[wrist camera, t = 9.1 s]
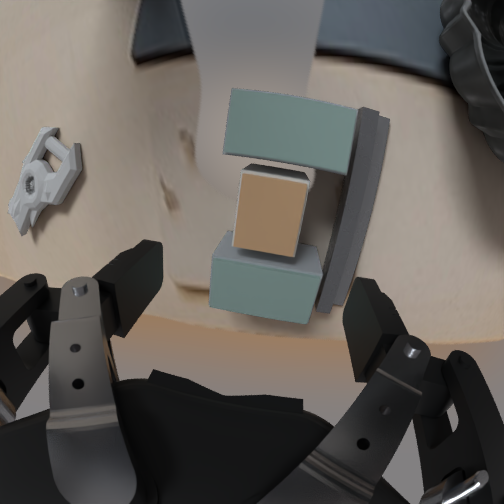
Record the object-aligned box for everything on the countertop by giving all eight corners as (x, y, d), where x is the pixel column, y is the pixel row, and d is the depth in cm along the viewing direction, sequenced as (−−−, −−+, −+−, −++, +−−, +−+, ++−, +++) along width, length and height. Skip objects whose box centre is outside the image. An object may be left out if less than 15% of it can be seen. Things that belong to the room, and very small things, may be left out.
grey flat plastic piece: (28, 257, 29) (-1, 210, 27) (43, 249, 32) (14, 204, 30) (78, 157, 23) (42, 108, 21) (96, 155, 27) (60, 109, 25)
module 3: (227, 230, 27) (210, 257, 21) (316, 246, 27) (323, 277, 21) (223, 274, 29) (207, 308, 23) (305, 288, 29) (308, 326, 23)
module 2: (251, 163, 24) (240, 170, 19) (304, 172, 24) (310, 182, 18) (243, 223, 27) (230, 248, 21) (293, 232, 27) (294, 259, 21)
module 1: (244, 99, 22) (230, 86, 16) (341, 116, 22) (359, 108, 16) (237, 151, 24) (221, 154, 18) (333, 167, 24) (348, 176, 18)
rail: (356, 109, 21) (363, 106, 19) (387, 119, 21) (397, 117, 19) (314, 298, 29) (315, 311, 27) (341, 302, 29) (345, 315, 27)
